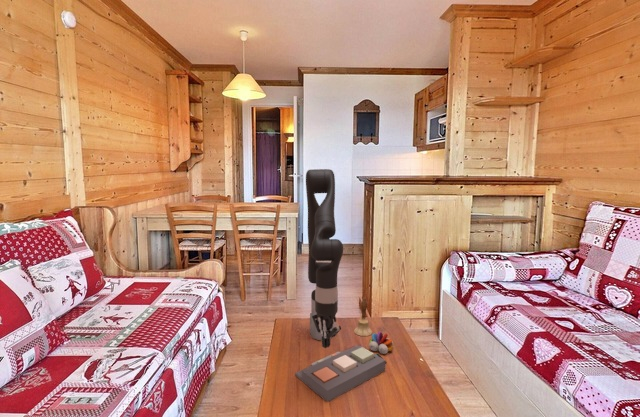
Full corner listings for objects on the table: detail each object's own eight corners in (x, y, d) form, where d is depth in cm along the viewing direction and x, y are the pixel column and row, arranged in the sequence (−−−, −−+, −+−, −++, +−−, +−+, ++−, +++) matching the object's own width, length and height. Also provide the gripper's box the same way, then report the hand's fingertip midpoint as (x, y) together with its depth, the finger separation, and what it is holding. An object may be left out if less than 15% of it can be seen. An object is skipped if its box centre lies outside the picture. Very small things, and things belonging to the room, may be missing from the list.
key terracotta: (313, 379, 120) (313, 372, 120) (326, 373, 124) (326, 366, 123) (324, 388, 115) (324, 381, 115) (337, 381, 119) (337, 374, 119)
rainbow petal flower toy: (388, 357, 138) (388, 340, 137) (365, 350, 143) (366, 333, 142) (395, 348, 145) (396, 331, 144) (374, 341, 150) (374, 325, 149)
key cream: (332, 366, 125) (332, 360, 125) (345, 361, 129) (345, 354, 129) (344, 374, 121) (344, 368, 121) (356, 368, 125) (356, 362, 124)
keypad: (295, 375, 125) (295, 365, 125) (351, 350, 143) (351, 340, 142) (327, 402, 111) (327, 390, 111) (385, 370, 129) (385, 360, 128)
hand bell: (367, 326, 163) (368, 294, 161) (375, 335, 155) (376, 301, 153) (351, 328, 161) (351, 295, 159) (357, 337, 153) (358, 302, 151)
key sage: (350, 358, 131) (351, 352, 131) (362, 353, 135) (362, 347, 134) (362, 365, 126) (362, 359, 126) (373, 359, 130) (373, 353, 130)
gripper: (305, 294, 118) (305, 342, 121) (330, 307, 108) (330, 359, 111) (322, 289, 123) (322, 335, 126) (348, 301, 113) (347, 351, 115)
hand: (325, 346), depth 118 cm, fingers closed
